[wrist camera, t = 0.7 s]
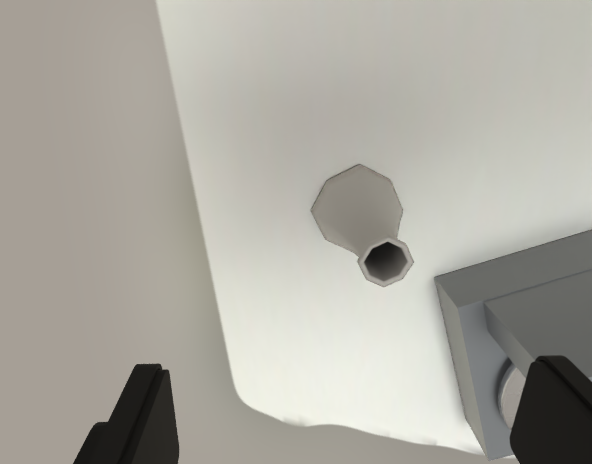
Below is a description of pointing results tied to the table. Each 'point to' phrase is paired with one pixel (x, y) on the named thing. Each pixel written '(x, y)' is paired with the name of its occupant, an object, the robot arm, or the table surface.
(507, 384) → the pan
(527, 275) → the scale
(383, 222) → the flask
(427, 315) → the table surface
